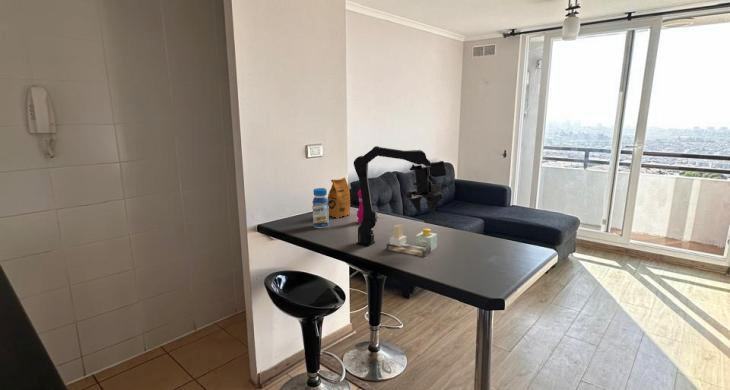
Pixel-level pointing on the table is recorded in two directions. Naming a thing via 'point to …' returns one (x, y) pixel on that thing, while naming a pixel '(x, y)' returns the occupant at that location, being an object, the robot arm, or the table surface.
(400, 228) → the carriage
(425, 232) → the button
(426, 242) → the button housing
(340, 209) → the coffee package
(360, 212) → the pepper mill
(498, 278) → the table surface
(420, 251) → the rail
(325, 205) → the beverage bottle
